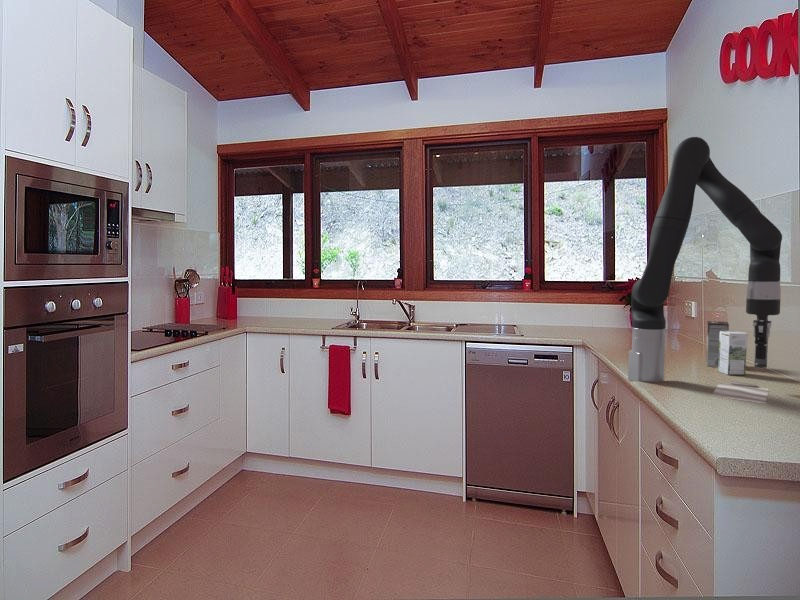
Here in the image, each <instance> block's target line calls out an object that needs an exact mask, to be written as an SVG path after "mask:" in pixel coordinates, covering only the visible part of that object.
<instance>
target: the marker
mask: <svg viewBox="0 0 800 600" xmlns="http://www.w3.org/2000/svg"><path fill="white" fill-rule="evenodd" d="M758 340H764V338H760V337H759V338H758ZM768 346H769V338H767V346H766V358H765V359H756V345H755V344H754V364H753V365H754V367H755V368H761V369H767V368H768V350H769V349H768V348H769V347H768Z"/></svg>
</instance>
